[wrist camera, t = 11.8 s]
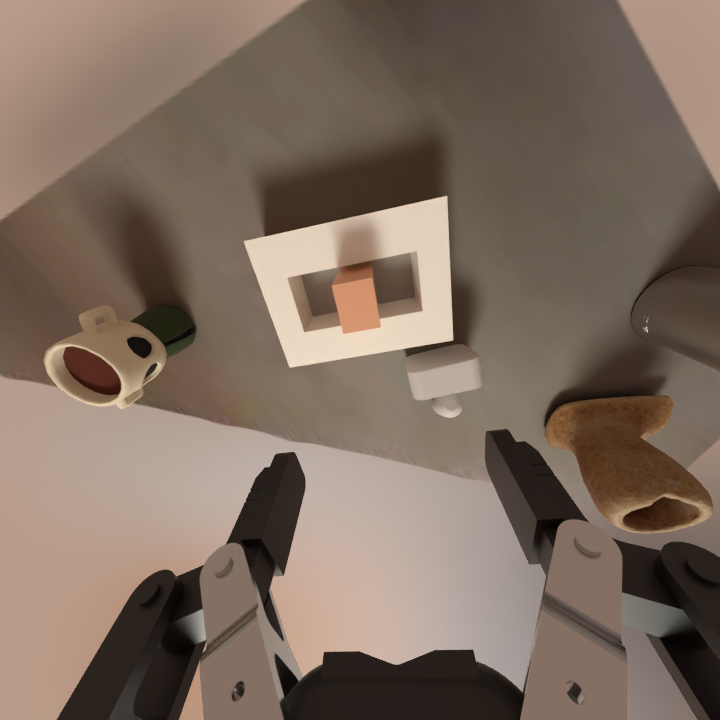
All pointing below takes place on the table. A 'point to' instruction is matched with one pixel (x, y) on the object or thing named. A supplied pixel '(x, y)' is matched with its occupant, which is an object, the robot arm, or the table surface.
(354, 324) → the orange block
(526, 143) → the table surface
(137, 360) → the character mug
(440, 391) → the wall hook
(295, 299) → the well block
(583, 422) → the brown boot-shaped piece
